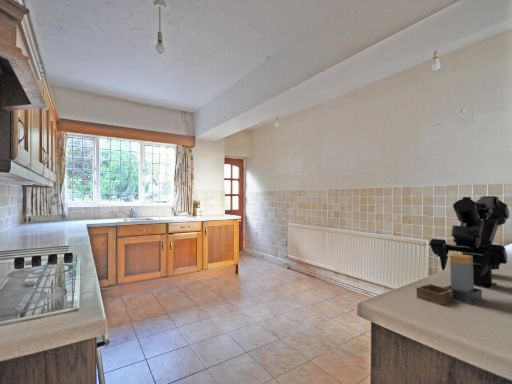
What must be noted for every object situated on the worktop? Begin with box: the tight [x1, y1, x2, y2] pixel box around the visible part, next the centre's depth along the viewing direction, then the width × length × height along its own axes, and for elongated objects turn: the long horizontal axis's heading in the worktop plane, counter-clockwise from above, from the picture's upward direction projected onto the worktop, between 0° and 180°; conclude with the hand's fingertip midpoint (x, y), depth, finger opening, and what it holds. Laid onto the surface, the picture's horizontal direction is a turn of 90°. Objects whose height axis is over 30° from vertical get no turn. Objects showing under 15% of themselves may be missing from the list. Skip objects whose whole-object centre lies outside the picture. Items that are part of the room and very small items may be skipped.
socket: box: [443, 284, 483, 305], centre depth 82 cm, size 7×7×3 cm
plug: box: [449, 252, 475, 293], centre depth 82 cm, size 4×4×13 cm
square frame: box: [416, 283, 455, 306], centre depth 82 cm, size 7×7×3 cm
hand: (460, 272), depth 81 cm, fingers open, 9 cm apart
